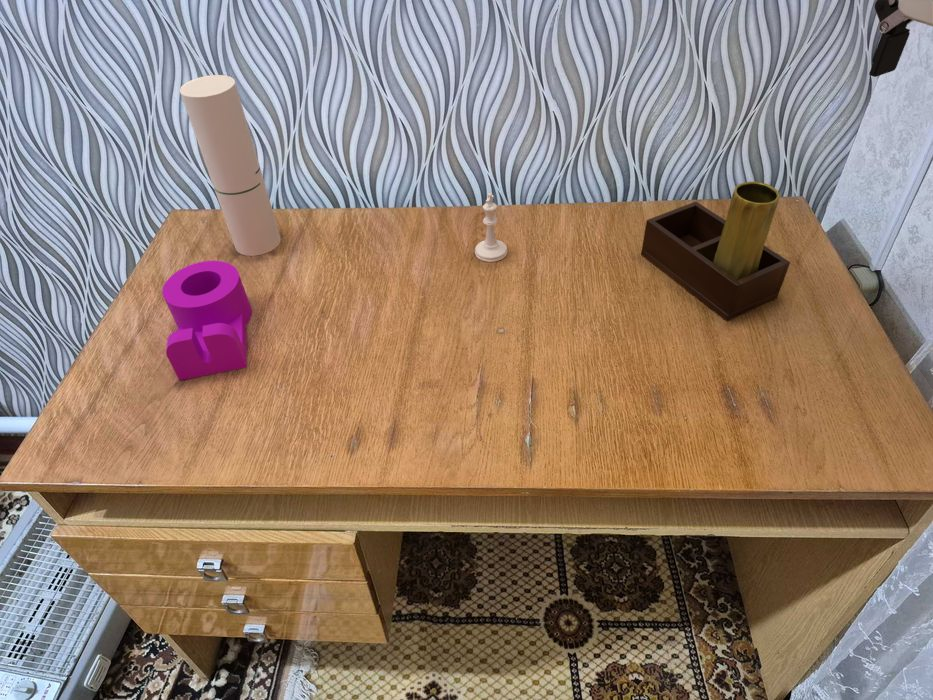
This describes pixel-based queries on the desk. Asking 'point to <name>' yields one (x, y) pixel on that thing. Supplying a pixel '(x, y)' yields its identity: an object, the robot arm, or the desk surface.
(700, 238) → the brown compartment box
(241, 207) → the cylindrical container
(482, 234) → the desk surface
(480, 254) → the chess piece
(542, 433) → the desk surface
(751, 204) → the vase
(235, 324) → the magenta bearing bracket
